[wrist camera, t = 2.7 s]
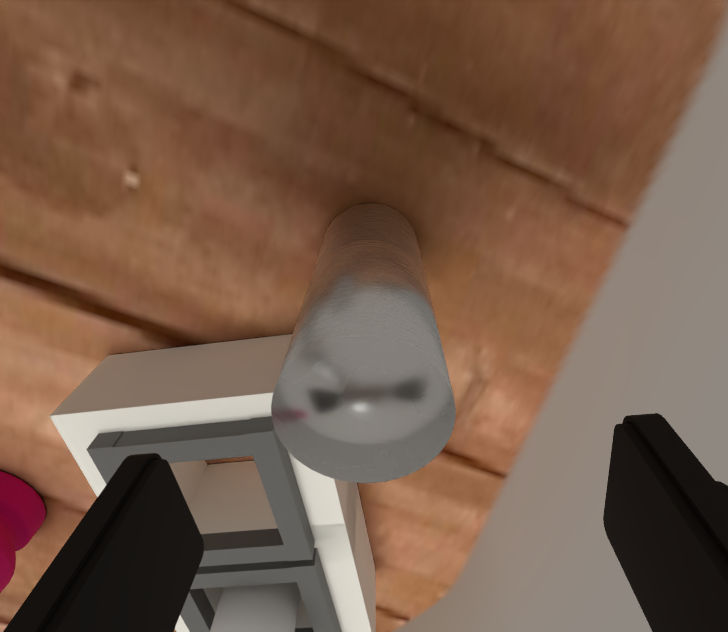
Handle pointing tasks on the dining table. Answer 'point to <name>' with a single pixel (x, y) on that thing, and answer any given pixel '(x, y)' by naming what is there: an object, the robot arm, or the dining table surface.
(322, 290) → the peg
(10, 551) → the pepper mill
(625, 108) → the dining table surface
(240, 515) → the socket block
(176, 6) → the dining table surface
